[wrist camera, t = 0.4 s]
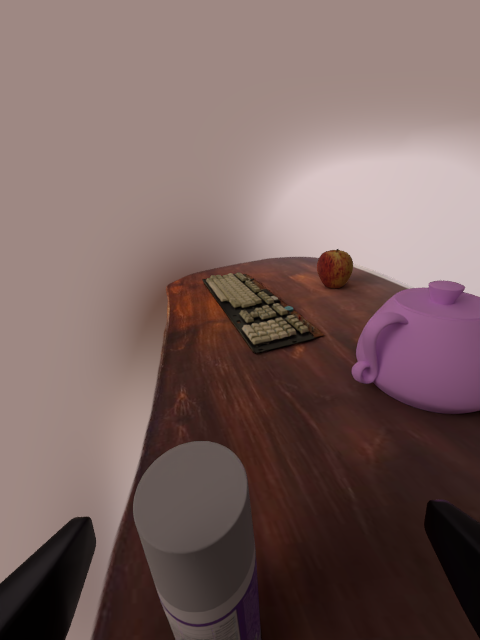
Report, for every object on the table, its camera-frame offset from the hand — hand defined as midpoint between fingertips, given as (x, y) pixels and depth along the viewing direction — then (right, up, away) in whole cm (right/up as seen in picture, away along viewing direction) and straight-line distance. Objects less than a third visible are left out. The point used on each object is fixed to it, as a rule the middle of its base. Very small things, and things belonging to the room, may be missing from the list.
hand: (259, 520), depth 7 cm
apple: (+25, +14, +68) cm, 74 cm away
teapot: (+26, -3, +32) cm, 42 cm away
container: (-1, -15, +10) cm, 18 cm away
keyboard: (+2, +9, +60) cm, 61 cm away
